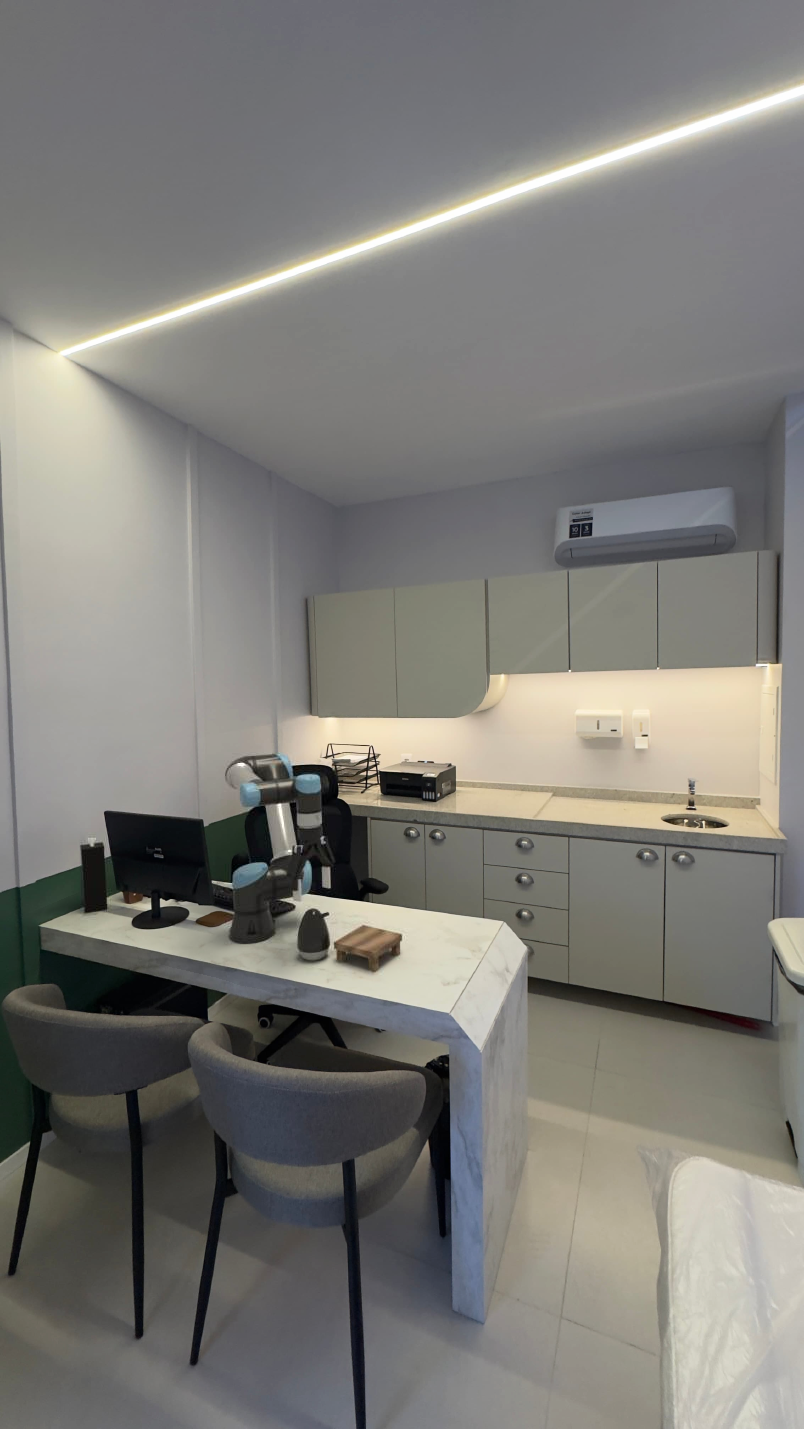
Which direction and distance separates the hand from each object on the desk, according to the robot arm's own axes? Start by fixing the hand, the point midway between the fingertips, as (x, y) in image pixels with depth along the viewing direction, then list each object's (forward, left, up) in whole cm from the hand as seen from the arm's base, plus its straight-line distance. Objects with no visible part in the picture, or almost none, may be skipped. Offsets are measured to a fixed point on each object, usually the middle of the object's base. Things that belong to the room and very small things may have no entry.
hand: (312, 894), depth 187 cm
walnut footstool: (+15, +8, -20) cm, 26 cm away
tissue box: (-103, -9, -20) cm, 106 cm away
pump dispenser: (0, 0, -20) cm, 20 cm away
